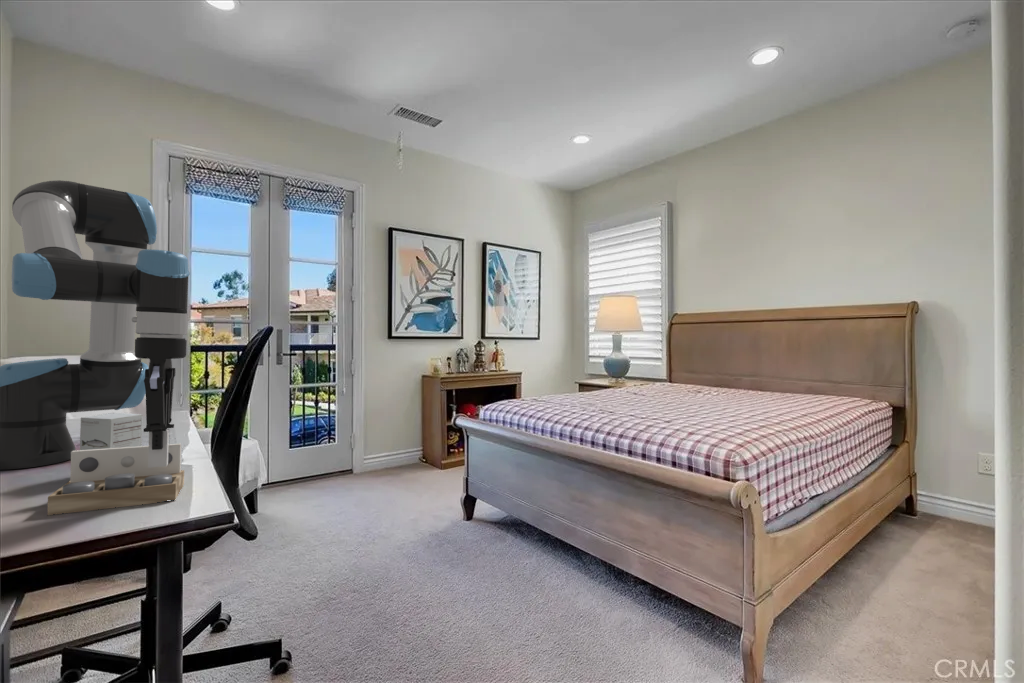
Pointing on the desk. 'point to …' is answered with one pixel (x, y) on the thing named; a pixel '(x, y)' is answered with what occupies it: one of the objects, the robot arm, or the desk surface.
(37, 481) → the desk surface
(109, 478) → the button
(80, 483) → the button
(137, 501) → the button board
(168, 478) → the button
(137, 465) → the card
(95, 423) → the supplement box
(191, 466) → the desk surface
